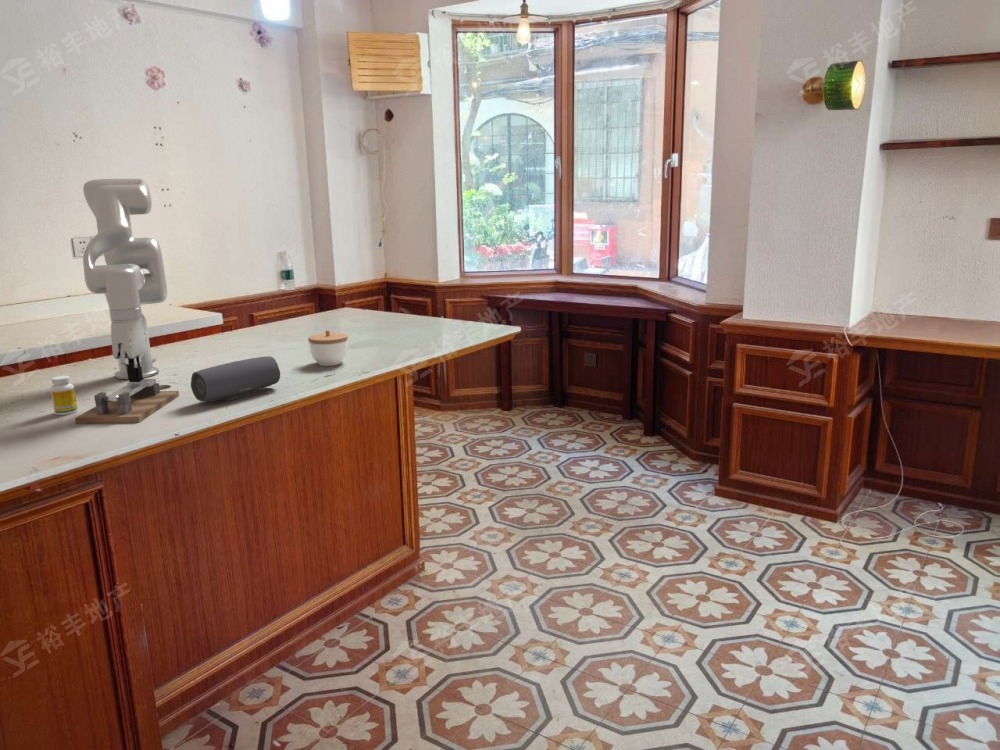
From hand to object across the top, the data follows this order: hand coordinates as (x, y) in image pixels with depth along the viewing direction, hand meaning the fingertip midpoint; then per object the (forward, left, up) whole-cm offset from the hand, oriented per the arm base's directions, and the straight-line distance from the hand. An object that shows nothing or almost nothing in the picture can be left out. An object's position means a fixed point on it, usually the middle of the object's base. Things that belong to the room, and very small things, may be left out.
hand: (136, 381), depth 200 cm
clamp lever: (+5, 0, -2) cm, 5 cm away
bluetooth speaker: (-5, +26, -7) cm, 27 cm away
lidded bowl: (-43, +43, -7) cm, 61 cm away
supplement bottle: (+7, -16, -7) cm, 19 cm away
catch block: (-4, 0, -5) cm, 6 cm away
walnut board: (+5, 0, -6) cm, 8 cm away
